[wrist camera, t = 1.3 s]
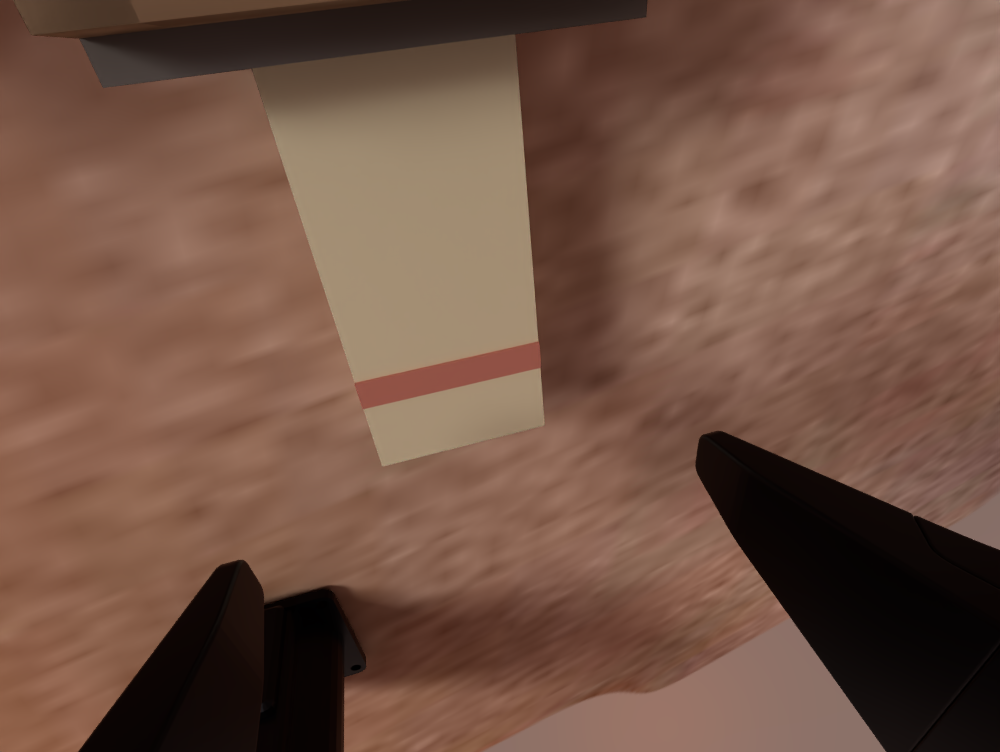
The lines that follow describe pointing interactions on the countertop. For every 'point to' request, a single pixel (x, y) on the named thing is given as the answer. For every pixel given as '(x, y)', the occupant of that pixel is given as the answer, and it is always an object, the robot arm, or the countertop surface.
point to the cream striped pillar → (419, 234)
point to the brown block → (286, 29)
